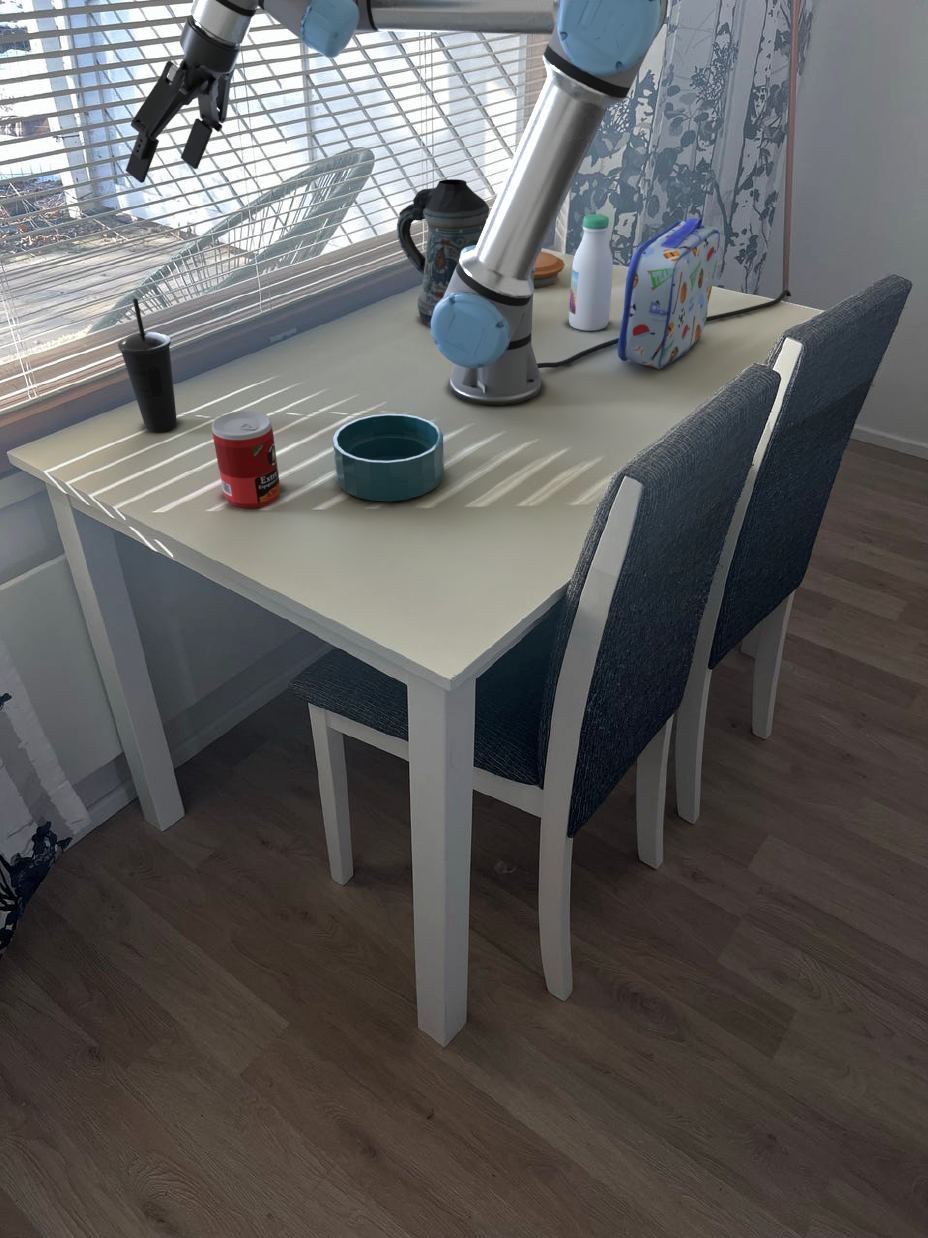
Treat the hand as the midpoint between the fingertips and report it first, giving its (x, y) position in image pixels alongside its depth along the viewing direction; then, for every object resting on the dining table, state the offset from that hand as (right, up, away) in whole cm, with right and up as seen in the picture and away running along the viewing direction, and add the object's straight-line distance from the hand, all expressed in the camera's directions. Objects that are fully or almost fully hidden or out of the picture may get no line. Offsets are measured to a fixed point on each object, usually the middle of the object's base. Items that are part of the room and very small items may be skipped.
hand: (162, 169), depth 141 cm
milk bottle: (+69, -9, +46) cm, 83 cm away
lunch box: (+81, -17, +35) cm, 90 cm away
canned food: (+15, -49, -7) cm, 52 cm away
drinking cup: (-4, -36, +11) cm, 37 cm away
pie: (+58, +7, +68) cm, 90 cm away
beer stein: (+42, -6, +49) cm, 65 cm away
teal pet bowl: (+34, -46, -3) cm, 57 cm away
